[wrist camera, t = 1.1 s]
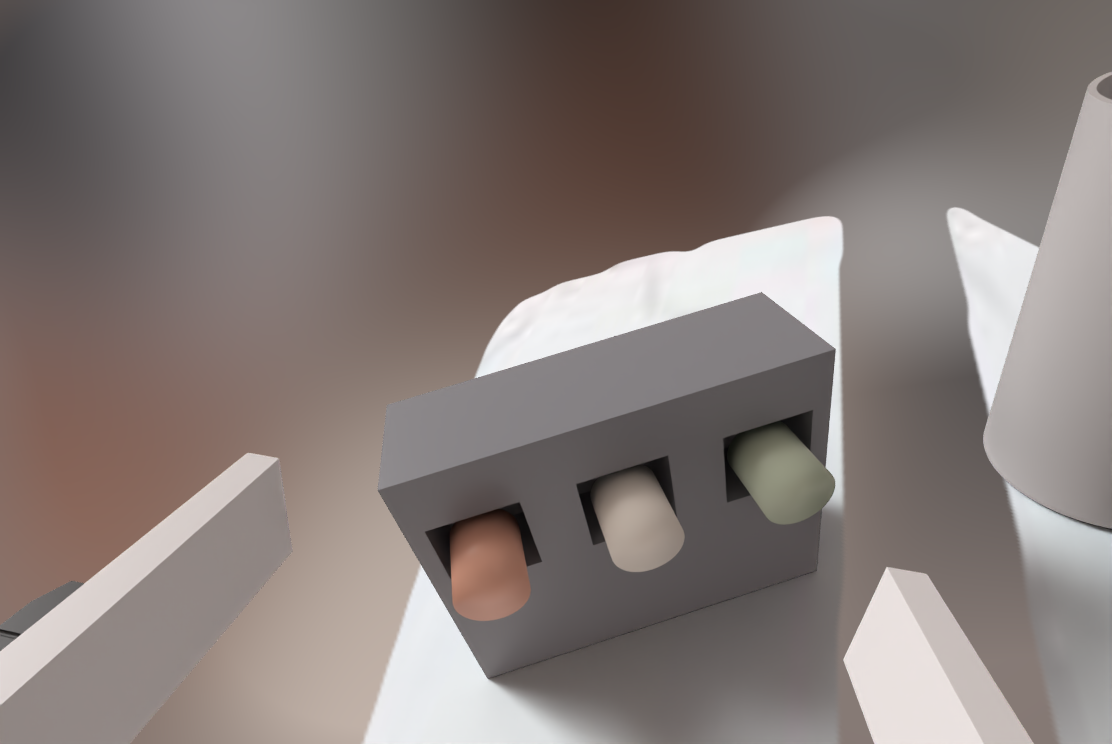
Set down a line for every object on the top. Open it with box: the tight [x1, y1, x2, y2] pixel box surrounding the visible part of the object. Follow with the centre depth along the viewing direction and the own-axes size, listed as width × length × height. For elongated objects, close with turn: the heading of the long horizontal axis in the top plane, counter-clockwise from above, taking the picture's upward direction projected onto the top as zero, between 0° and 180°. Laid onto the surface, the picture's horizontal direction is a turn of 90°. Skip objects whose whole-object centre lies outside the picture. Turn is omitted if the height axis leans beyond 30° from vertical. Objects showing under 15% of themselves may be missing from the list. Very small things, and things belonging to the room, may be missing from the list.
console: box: [378, 292, 836, 678], centre depth 34 cm, size 23×7×18 cm, turn 101°
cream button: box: [590, 464, 685, 572], centre depth 28 cm, size 4×4×4 cm
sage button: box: [727, 421, 835, 525], centre depth 29 cm, size 4×4×4 cm
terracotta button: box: [450, 509, 531, 621], centre depth 28 cm, size 4×4×4 cm
